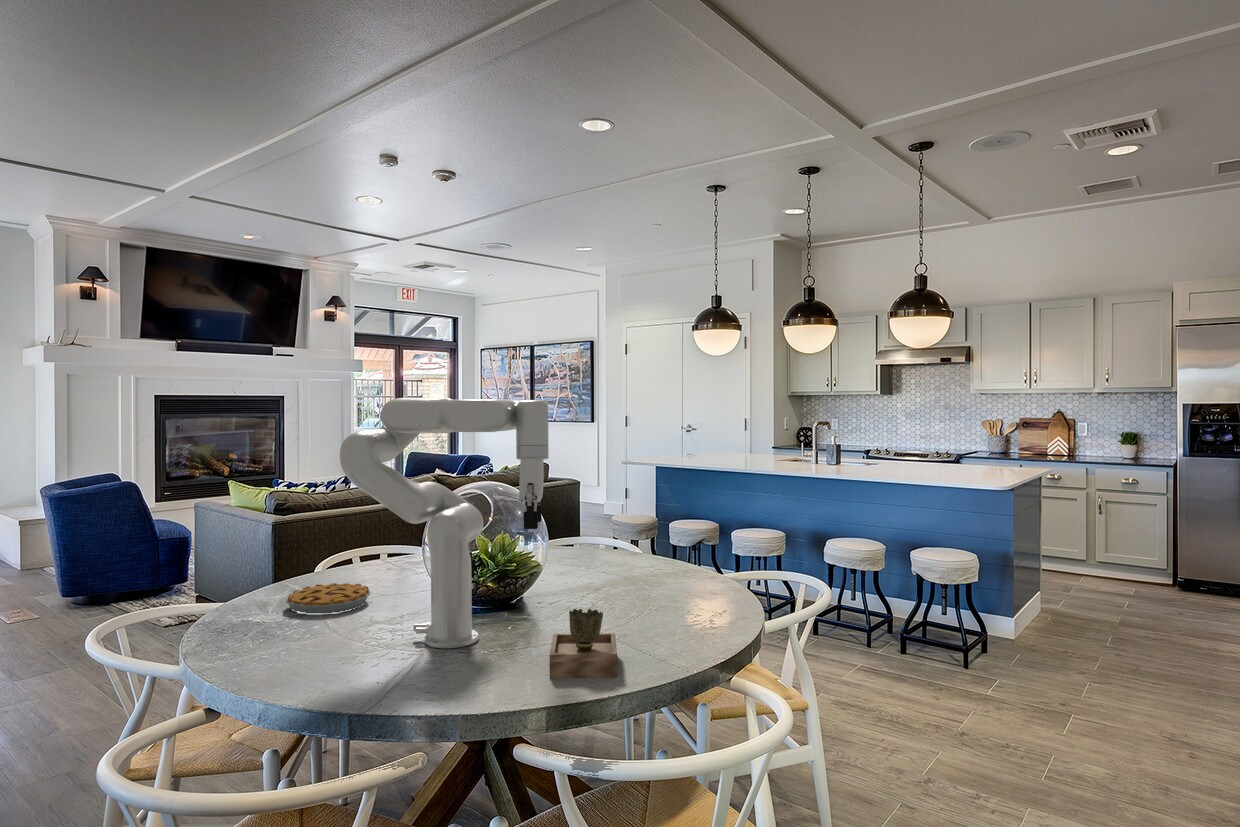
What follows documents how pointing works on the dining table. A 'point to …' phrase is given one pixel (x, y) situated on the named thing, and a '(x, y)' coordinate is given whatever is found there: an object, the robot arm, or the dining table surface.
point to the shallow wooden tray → (583, 657)
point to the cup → (585, 627)
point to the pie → (328, 598)
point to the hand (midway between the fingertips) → (532, 525)
